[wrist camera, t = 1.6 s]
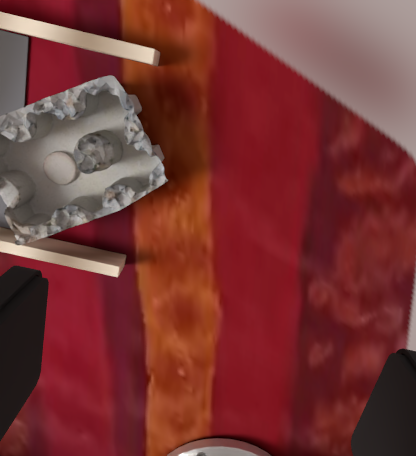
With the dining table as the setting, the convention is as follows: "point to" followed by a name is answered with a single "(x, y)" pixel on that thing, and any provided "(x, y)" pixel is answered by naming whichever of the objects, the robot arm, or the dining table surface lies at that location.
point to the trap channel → (15, 99)
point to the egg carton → (75, 159)
